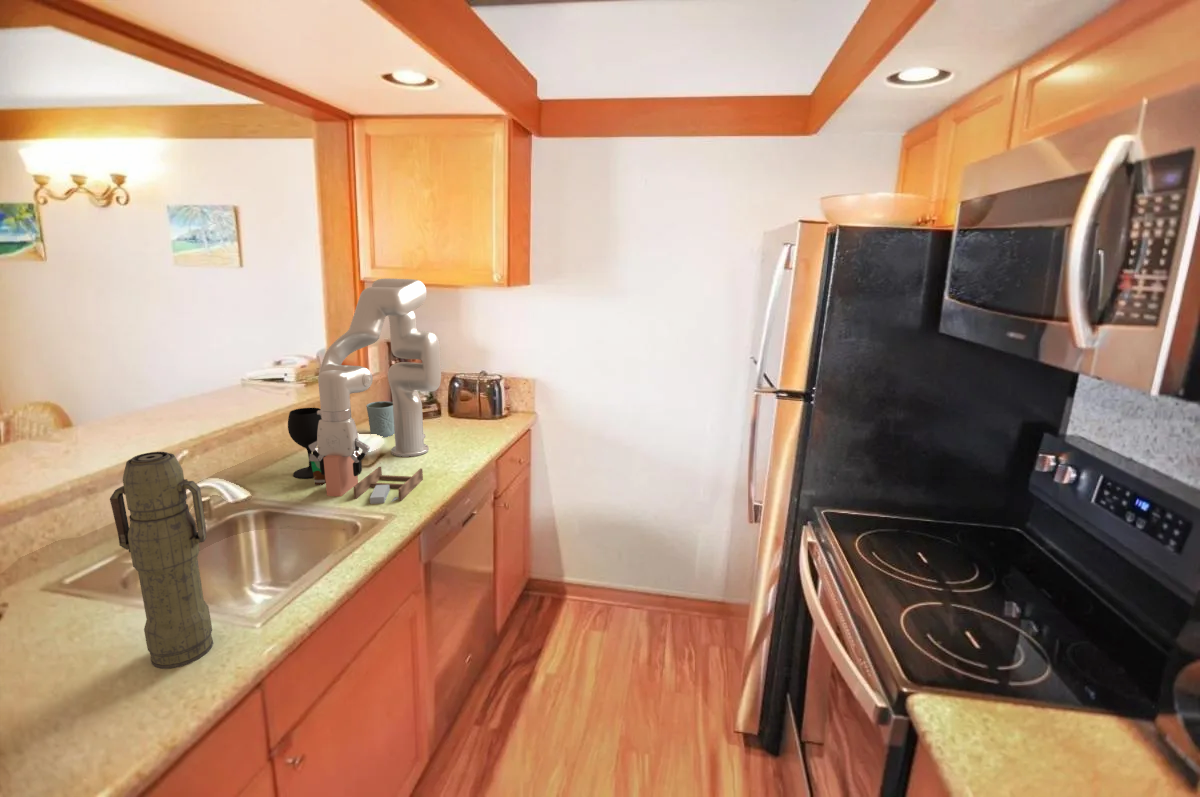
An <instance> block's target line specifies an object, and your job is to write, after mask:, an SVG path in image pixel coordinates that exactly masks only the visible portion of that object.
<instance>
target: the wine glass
mask: <svg viewBox="0 0 1200 797" xmlns="http://www.w3.org/2000/svg"><path fill="white" fill-rule="evenodd" d="M320 409H321V408H318V407H302V408H301V407H300V408H296V409H293V410H292V409H291V410H290V411H289V413H288V418H287V419H288V420H287V430H288V434H289V436H290V438H291V440H293V442H294V443H295V444H296V445H298V446H300V447H302V448H304V449H306V451H307V457H308V459H309V456H310V454H313V452H312V451H311V450H310V448H309V445H310V444H312V443H314V442H316V441H317V432H318V423H319V420H321V419H322V418H321V416H320V415H317V411H318V410H320ZM292 475H293V477H294V478H296V479H301V480H306V479H314V476H313V470H312V465H311V461H309V460H308V466H305V467H302V468H299V469H296V470H295V471H294V472H293V474H292Z"/></svg>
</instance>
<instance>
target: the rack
mask: <svg viewBox="0 0 1200 797" xmlns="http://www.w3.org/2000/svg"><path fill="white" fill-rule="evenodd" d="M382 472H383V470H382V466H378V467H377V468H376V469H374V470H373V471H372V472H371V473H369V474H368V475H367V476H365V477H364V478H363V479H361V480H360V481H358V484H356V485H355V486H354V487H353V497H354V498H353V499H354V500H355V499H356V500H357V499H359V498H360V497H361V496H363V495H364V493H366V492H367V491H368V490H369V489H371V488H375V486H376V485H389V486H390V489H396V490H397V489H398V498H399V499H398V501H399V502H402V501H403V500H404V499H405V498H406V497H407V496H408V495H409V494H410V493H411V492H412V491H414V490H415V488H416V487H417V486H418V485H419V484H420V483H422V481H423V480H424V475H423V474H424V473H423V472H424V471H423V468H419V469H417V471H416V472H415V473H414V474H412V476H407V475H388V474H387V475H386V474H383V473H382ZM381 480H382V481H397V482H398V481H400V482H401V481H402V482H404V483H393V482H392V483H391V482H389V483H388V482H379V481H381Z"/></svg>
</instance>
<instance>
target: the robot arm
mask: <svg viewBox="0 0 1200 797" xmlns="http://www.w3.org/2000/svg"><path fill="white" fill-rule="evenodd" d="M427 295H428V293H427V287H426V286H425V284H424V282H422V281H421V280H418V279H412V278H379V279H376V280H374V282H372V284H371V287H367V288H365V289H364V288H363V290H362V291H361V293H360V295H359V297H358V301H357V304H356V307H355V311H354V314H353V315H352V319H351V322H350V325H349V329H348V330H347V331H346V332H345V333H343V334H342V335H341V336H339V337H338V338H337V339H336V340H335V341H334V342H333V343H332V344H331V345H330V346H329V347H328V348H327V349H326V352H325V353H324V356H323V359H322V362H321V366H320V367H319V373H318V376H317V383H318V394H319V404H320V408H319V409H320V410H318V411H317V415H320V416H321V418H322V419H321V420H319V423H318V432H317V441H316V442H314V443H312V444H310V445H309V448H310V450H311V451H312V454H313V455H314V456H315V457H316V458H317V460H318V461H319V462H320V470H321V474H322V475H324V474H325V470H324V459H323V458H324V457H325V456H327V455H335V456H342V457H349V456H350V457H351V458H352V459H353V460H354V463H353V474H354V476H357V475H358V476H359V475H360V474H362V471H363V466H362V460H363V459H364V458H365V457H366V456H367V455H368V453H369V451H370V449H371V446H369V445H368V444H366V443H365V442H363V441H361V440H359V439H360V438H359V435H358V429H357V425H356V422H355V418H353V417H352V409H351V406H352V405H351V396H350V395H351V394H357V393H362V392H365V391H367V390H368V389H369V388H370V387H371V386H372V384H373V381H374V380H373V374H372V372H371V371H370V370H369V368H366V367H365V366H361V365H347V364H343V362H344V361H345V360H346V358H348V356H349V355H351V354H353V353H354V352H356V351H358V350H360V349H363V348H365V347H368V346H370V345H372V344H375V343H377V342H378V341H379V339H380V336H381V332H382V329H383V327H384V323H385V319H386V317H388V321H389V322H388V324H389V336H390V348H391V353H392V355H393V356H394V357H396V358H399V359H406V360H421V362H408V361H401V362H396V363H394V364H392V365H391V366H389V369H388V371H387V381H388V384H389V387H390V392H391V398H392V402H393V415H394V443H395V444H394V445H395V446H393V447H392V448H390V453H391V454H392V455H393V456H395V455H396V456H395V457H401V456H402V458H405V457H407V458H410V457H409V456H411V457H417V456H421V455H424V454H426V453H427V452H429V450H430V449H429V447H430V446H429V445H428V444H425V440H424V439H425V438H426V434H425V433H424V422H423V421H424V418H423V416H424V415H423V403H422V398H421V397H420V395H419V392H426V393H427V392H428V393H429V392H435V391H437V390H438V389H439V388H440V385H441V382H442V367H441V365H442V362H441V346H440V341H439V338H438V335H436V334H435V333H434V332H432V331H425V330H424V331H423V330H418V329H417V328H418V327H417V317H416V313H415V310H417V309H418V308H420V307H422V305H424V303H425V301H426V300H427ZM360 449H361V453H360V452H359V451H360Z"/></svg>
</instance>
